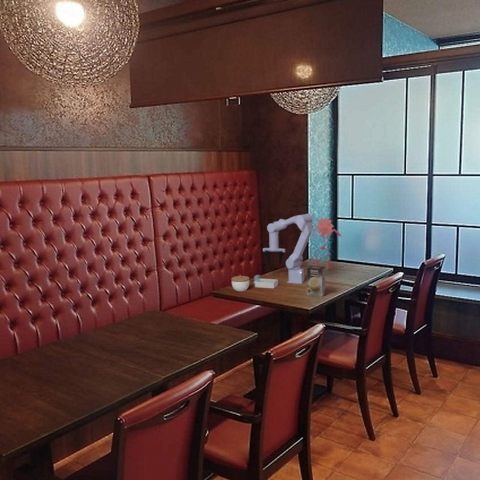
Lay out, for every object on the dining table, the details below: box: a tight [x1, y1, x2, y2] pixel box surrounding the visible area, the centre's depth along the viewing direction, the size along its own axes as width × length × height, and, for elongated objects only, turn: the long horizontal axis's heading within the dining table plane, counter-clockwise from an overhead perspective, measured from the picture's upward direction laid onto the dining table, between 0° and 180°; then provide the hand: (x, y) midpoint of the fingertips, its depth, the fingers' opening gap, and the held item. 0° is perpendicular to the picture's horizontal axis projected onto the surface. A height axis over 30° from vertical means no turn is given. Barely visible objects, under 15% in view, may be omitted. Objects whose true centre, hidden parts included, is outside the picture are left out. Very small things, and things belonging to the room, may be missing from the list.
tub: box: [254, 277, 279, 289], centre depth 319 cm, size 12×8×4 cm, turn 67°
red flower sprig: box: [312, 217, 342, 271], centre depth 361 cm, size 15×26×35 cm, turn 54°
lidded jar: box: [230, 274, 250, 292], centre depth 312 cm, size 11×11×9 cm
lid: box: [252, 274, 261, 284], centre depth 329 cm, size 13×9×4 cm
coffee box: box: [306, 265, 326, 298], centre depth 297 cm, size 9×6×16 cm
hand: (274, 262), depth 337 cm, fingers open, 7 cm apart
